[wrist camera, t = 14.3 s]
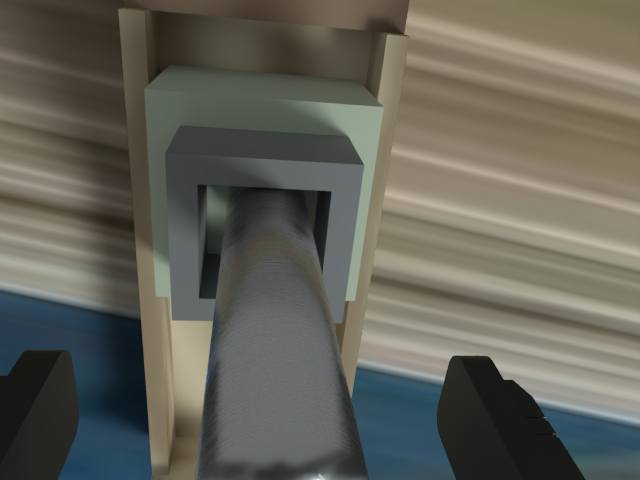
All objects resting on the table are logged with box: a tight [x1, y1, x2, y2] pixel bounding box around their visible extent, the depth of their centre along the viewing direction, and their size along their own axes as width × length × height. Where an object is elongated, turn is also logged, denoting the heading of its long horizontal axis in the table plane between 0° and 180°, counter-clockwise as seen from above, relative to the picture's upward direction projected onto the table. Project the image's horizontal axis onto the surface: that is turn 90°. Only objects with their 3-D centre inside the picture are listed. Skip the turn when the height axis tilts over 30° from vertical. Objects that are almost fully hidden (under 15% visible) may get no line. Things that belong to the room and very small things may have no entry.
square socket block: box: [144, 65, 384, 323], centre depth 22 cm, size 9×9×10 cm
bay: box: [118, 0, 410, 480], centre depth 28 cm, size 12×30×6 cm, turn 175°
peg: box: [194, 186, 369, 480], centre depth 15 cm, size 3×3×14 cm
